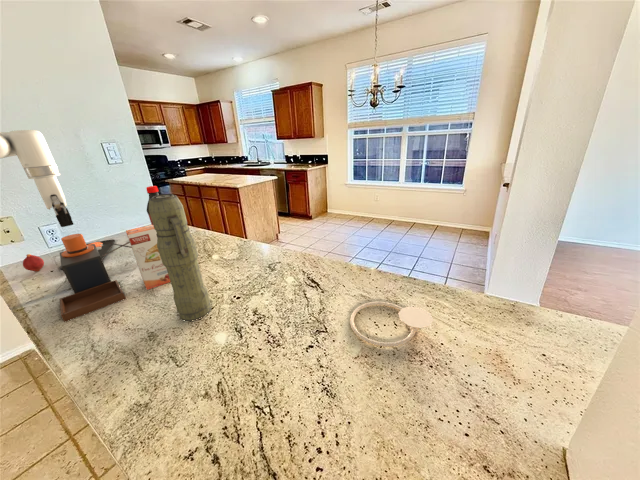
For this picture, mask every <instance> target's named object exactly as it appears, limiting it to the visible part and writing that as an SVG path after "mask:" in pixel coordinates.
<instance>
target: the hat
mask: <svg viewBox="0 0 640 480" xmlns="http://www.w3.org/2000/svg"><path fill="white" fill-rule="evenodd" d="M61 242H62V245H63V246H64V248H65V250H64V251H62V252H63V253H62V254H61V255H62V257H74V256H79V255H82V254H85V253H88V252H90V251H92V250H93V249H94V246H93V245H86V244H87V243H86V240H85V238H84V235H83V234H82V233H73V234H69V235H65V236H63V237H61Z"/></svg>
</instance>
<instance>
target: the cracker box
mask: <svg viewBox="0 0 640 480" xmlns="http://www.w3.org/2000/svg"><path fill="white" fill-rule="evenodd" d="M125 233H126V236H127V238H128V242H129V241H130V243H129V244H130V246H131V247H132V248H131V250H132V253H133V256H134V258H135V261H136V264H137V267H138V270H139V273H140V275H141V278H142V281H143V285H144V287H145V289H146V290H147V291H148V290H151V289H154V288H157V287H160V286H163V285H165V284H169V283H171V282H170V278H169V275H168V272H167V269H166V267H165V266H164V265H163V263H162V260H161V257H160V254H159V251H158V248H157V235H156V234H157V232H156V230H155V229H154V226H153V225H151V224H150V225H146V226H140V227H136V228H131V229H127V230H125Z"/></svg>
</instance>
